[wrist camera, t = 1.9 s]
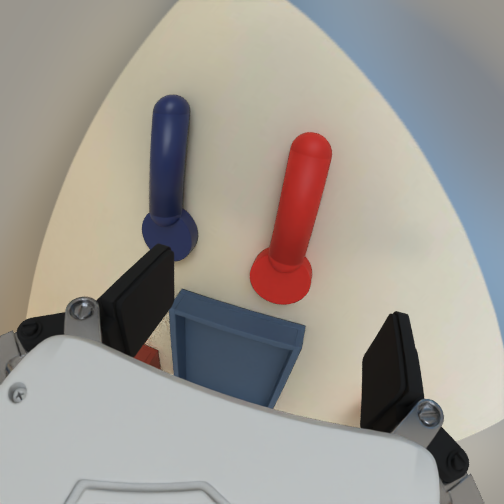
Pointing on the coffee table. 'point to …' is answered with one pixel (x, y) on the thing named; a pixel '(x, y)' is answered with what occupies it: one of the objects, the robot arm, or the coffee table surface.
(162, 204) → the navy spoon
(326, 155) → the red spoon
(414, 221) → the coffee table surface
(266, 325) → the blue tray
